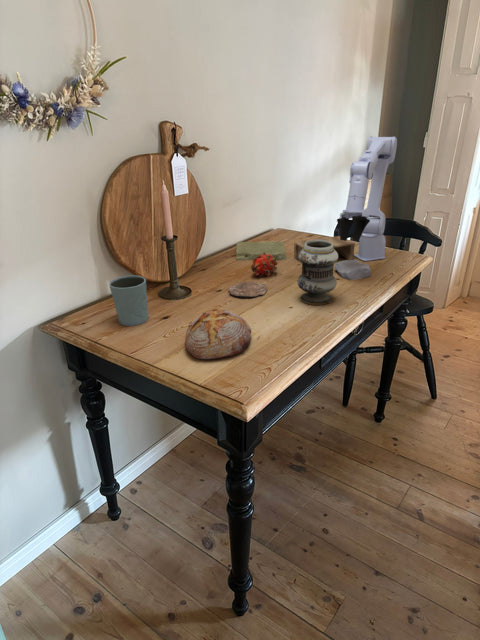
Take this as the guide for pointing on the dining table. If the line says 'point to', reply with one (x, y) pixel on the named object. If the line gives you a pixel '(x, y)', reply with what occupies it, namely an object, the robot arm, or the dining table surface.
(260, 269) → the dragon fruit
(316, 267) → the apothecary jar
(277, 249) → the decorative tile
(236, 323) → the bread
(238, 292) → the shell
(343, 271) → the stone block
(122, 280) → the teal cup
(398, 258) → the dining table surface
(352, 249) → the oak shelf
